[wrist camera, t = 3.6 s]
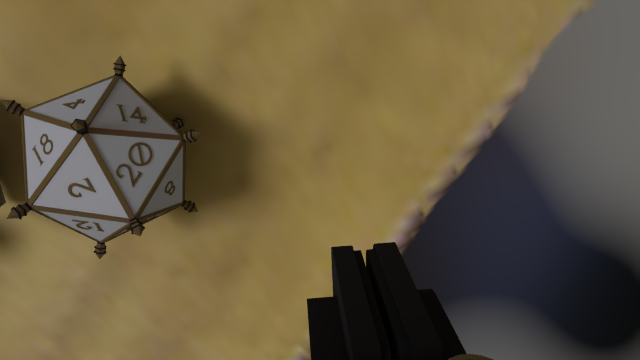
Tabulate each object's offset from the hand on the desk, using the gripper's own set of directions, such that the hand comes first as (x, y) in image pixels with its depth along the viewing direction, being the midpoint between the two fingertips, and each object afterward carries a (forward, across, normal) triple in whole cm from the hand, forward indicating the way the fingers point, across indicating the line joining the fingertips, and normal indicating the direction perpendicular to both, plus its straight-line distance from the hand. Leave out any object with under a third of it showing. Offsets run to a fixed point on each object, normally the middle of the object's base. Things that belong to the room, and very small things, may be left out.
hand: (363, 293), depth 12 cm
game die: (+16, +10, -1) cm, 19 cm away
